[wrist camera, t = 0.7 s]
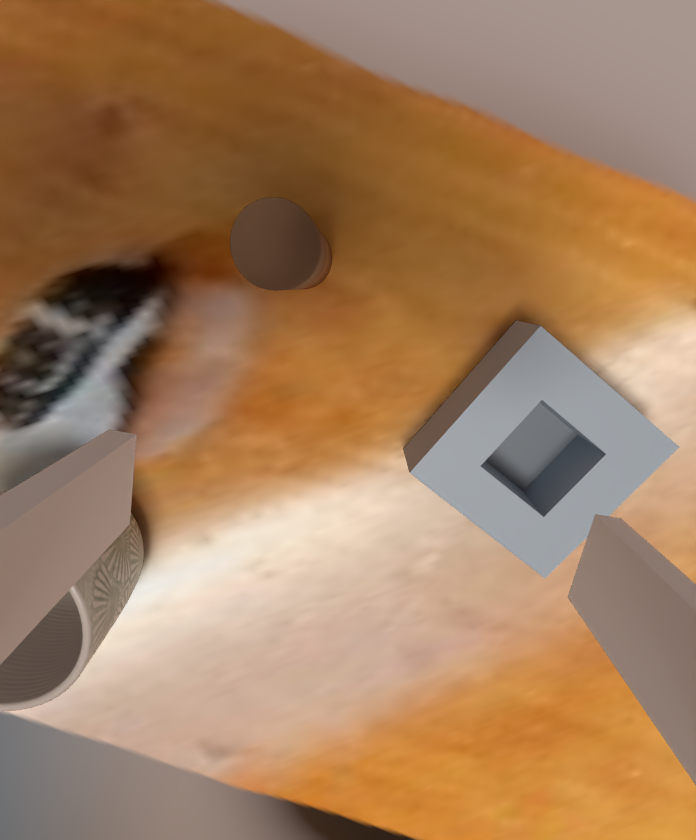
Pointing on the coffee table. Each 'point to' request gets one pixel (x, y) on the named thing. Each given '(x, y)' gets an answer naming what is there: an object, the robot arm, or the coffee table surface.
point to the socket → (535, 447)
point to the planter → (72, 627)
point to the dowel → (279, 246)
